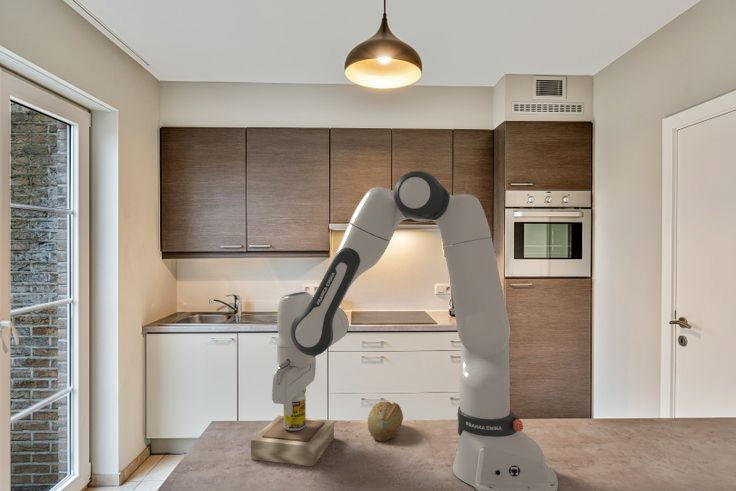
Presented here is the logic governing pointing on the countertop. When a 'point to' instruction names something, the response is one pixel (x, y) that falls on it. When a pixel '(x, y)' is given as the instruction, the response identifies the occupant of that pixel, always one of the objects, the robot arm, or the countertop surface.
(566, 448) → the countertop surface
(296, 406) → the supplement bottle
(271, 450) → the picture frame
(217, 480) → the countertop surface
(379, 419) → the bread roll
